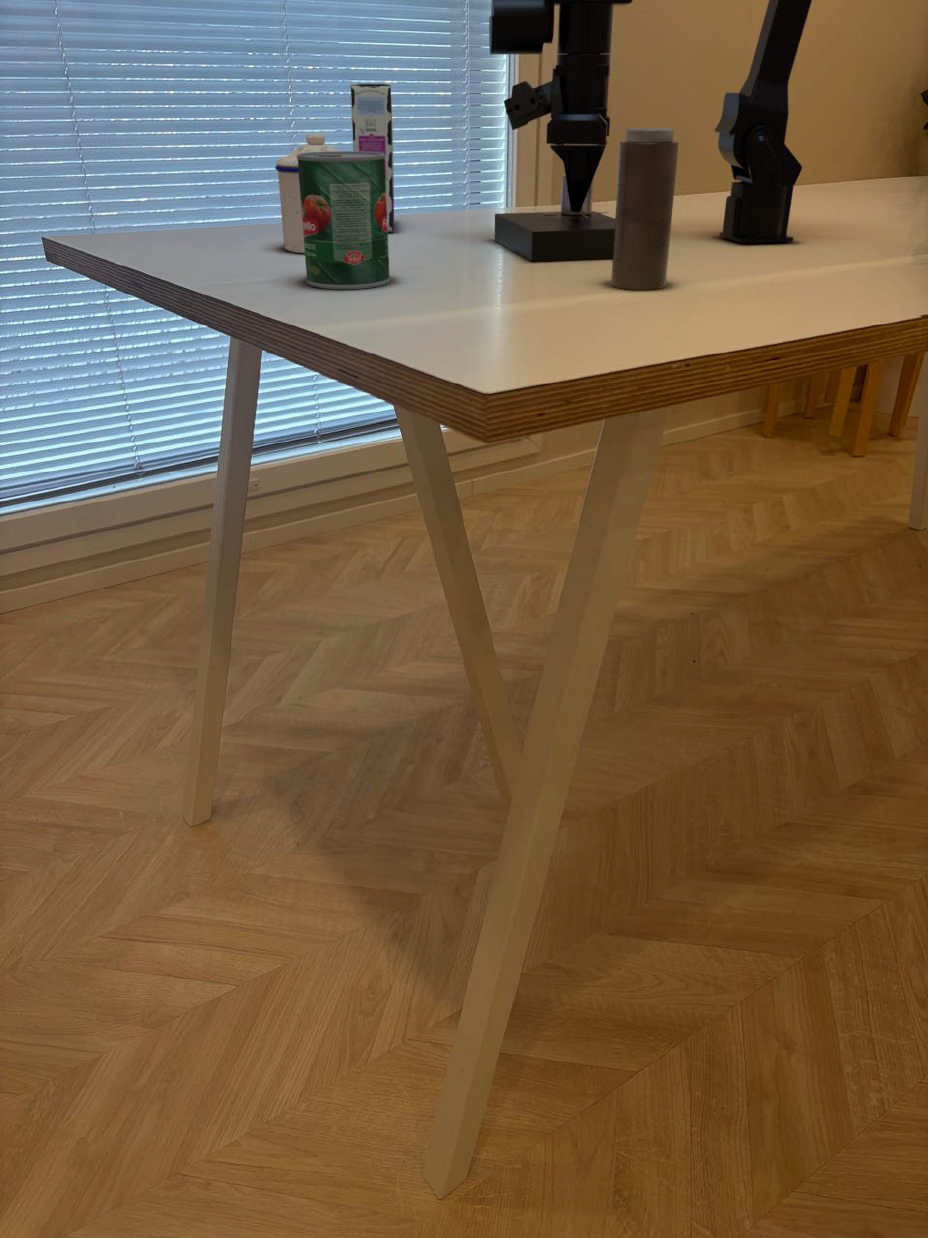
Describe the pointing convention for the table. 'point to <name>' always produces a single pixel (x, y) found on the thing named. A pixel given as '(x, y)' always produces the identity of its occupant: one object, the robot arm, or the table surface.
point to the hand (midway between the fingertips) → (576, 209)
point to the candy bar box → (375, 131)
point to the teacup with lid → (295, 192)
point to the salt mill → (644, 208)
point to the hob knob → (565, 202)
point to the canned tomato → (344, 219)
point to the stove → (556, 235)
